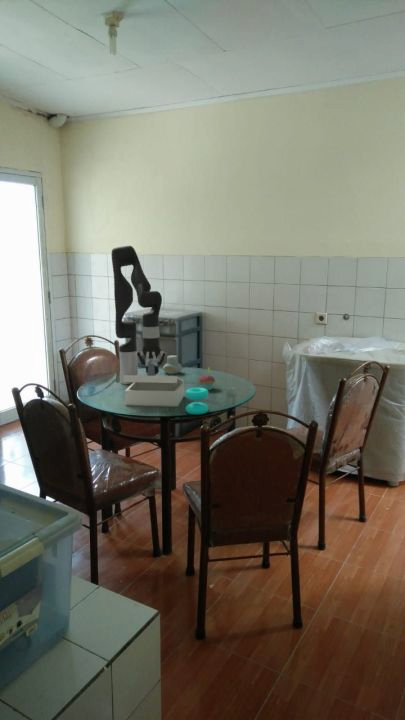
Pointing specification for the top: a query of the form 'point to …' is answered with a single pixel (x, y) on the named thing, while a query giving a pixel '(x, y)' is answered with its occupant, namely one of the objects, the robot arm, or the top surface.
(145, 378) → the lid
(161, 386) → the mailer base
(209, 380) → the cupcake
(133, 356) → the robot arm
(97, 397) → the top surface
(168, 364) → the air freshener
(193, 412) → the donuts
